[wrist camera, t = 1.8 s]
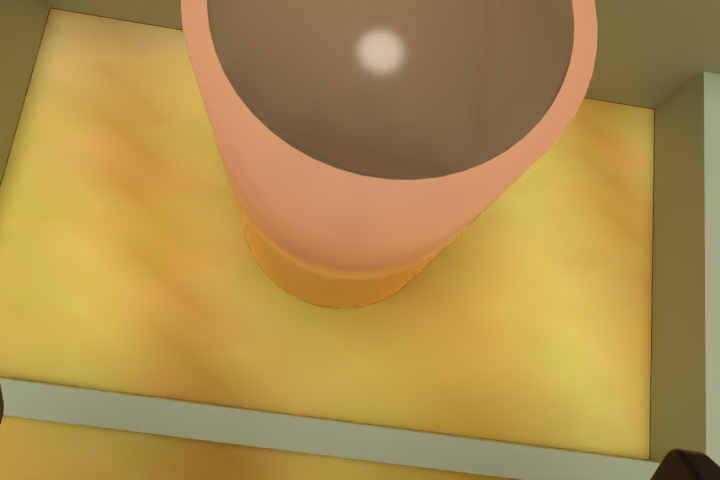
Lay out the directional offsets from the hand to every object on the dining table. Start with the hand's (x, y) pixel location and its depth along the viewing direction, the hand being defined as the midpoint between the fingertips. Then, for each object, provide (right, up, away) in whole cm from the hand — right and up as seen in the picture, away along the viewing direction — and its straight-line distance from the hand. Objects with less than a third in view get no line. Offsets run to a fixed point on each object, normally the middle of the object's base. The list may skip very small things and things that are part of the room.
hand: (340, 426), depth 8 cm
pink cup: (0, +3, +14) cm, 14 cm away
